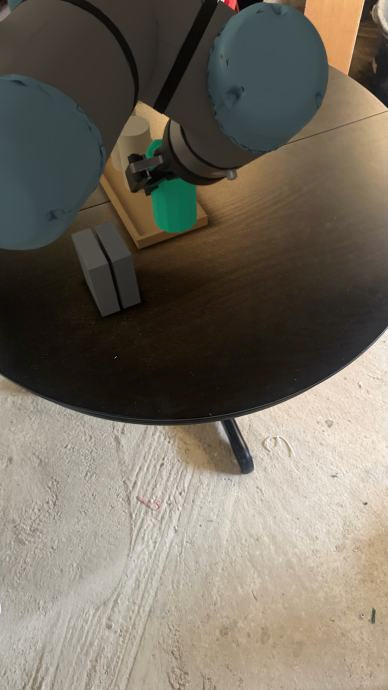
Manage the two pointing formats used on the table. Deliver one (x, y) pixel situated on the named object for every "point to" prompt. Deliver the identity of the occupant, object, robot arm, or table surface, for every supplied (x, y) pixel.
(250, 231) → the table surface
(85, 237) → the grey book
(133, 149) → the cream candle
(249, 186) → the table surface
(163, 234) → the tray
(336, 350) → the table surface
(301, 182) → the table surface
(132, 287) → the grey book
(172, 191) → the candle
